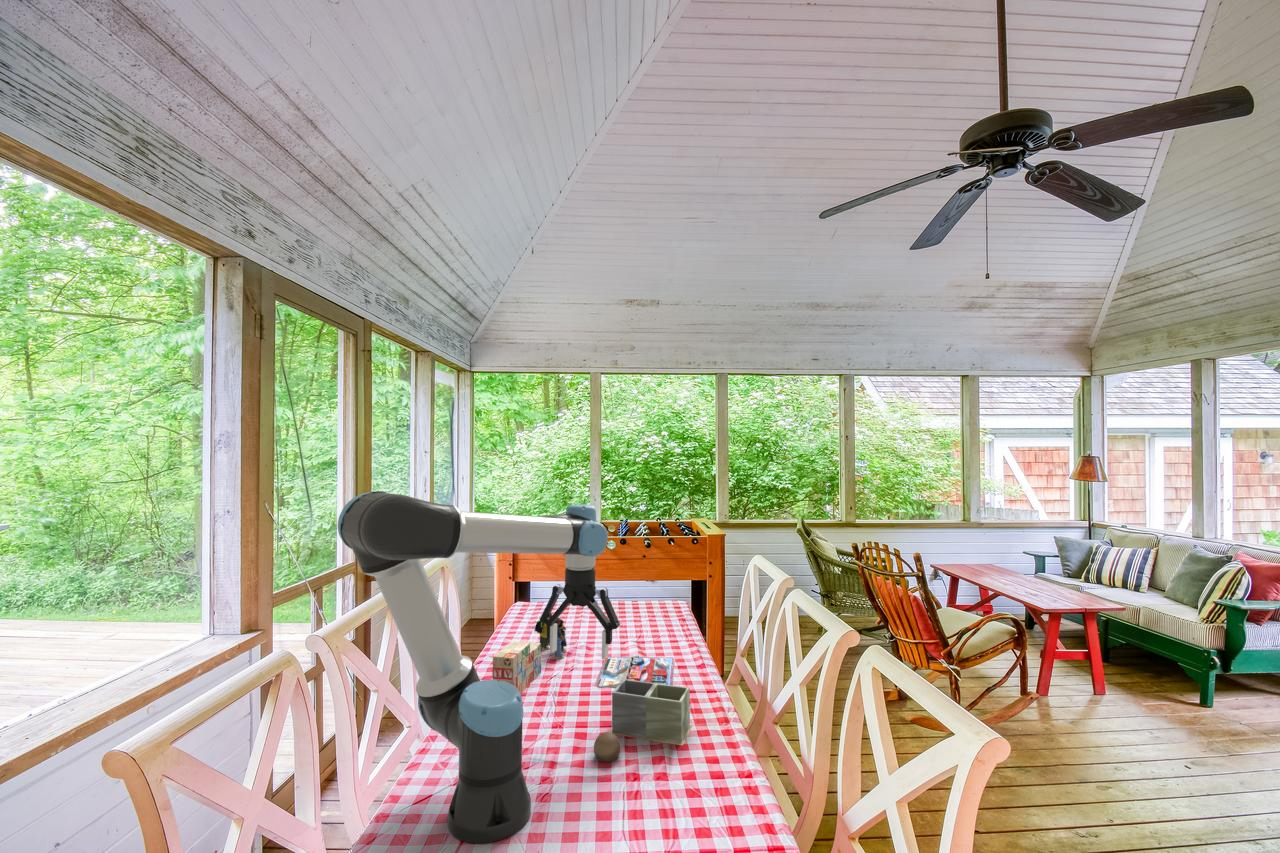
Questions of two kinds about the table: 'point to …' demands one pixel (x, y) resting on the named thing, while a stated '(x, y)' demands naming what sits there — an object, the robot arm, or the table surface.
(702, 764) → the table surface
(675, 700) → the divided open bin
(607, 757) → the walnut ball
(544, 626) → the doll family
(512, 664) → the stack of blocks
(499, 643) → the table surface
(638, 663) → the puzzle board
